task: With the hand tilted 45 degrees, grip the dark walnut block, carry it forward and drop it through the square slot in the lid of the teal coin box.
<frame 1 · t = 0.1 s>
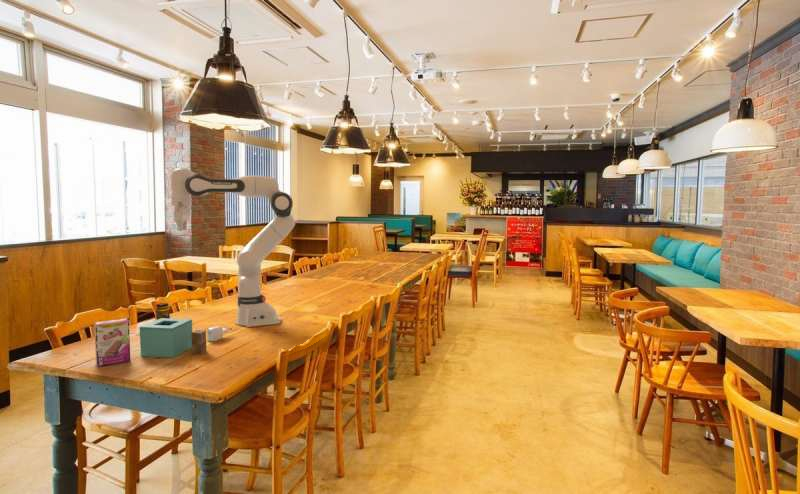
hand: (182, 230, 226), 48 cm above the table, tool pointing down, fingers open, 8 cm apart
candy bar box: (113, 363, 178), on the table
condiment: (161, 327, 228), on the table
teal coin box: (167, 351, 192), on the table
power adapter: (220, 338, 211), on the table
walnut block: (199, 352, 191), on the table
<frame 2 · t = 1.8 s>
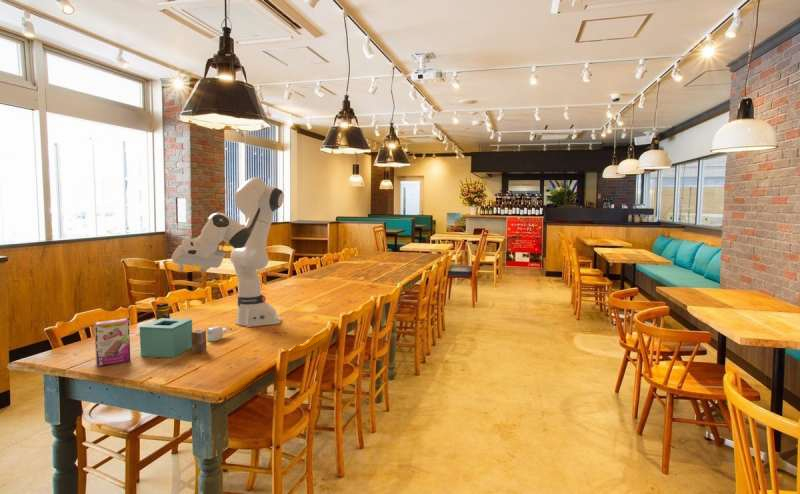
hand: (190, 270, 198), 33 cm above the table, tool tilted 40°, fingers open, 8 cm apart
nothing on the table moved.
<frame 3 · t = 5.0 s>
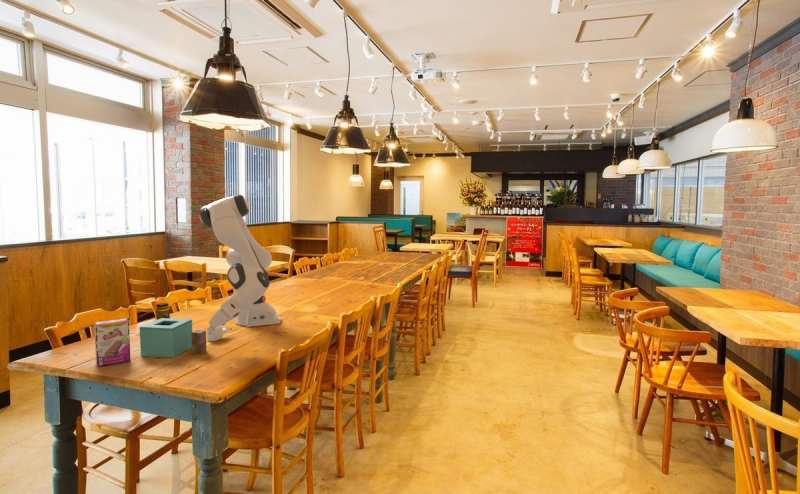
hand: (215, 327, 189), 11 cm above the table, tool tilted 45°, fingers open, 8 cm apart
nothing on the table moved.
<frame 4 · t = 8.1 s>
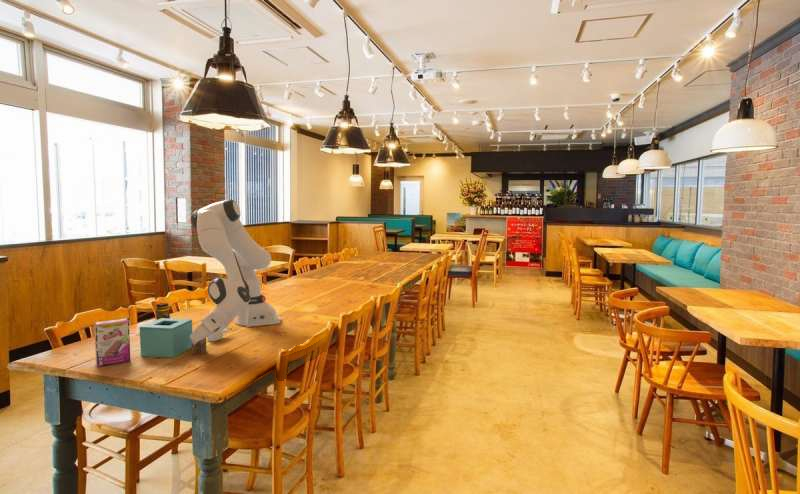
hand: (197, 341, 191), 5 cm above the table, tool tilted 45°, fingers closed on walnut block, 4 cm apart
walnut block: (199, 352, 191), on the table, touching gripper
everything else where it was.
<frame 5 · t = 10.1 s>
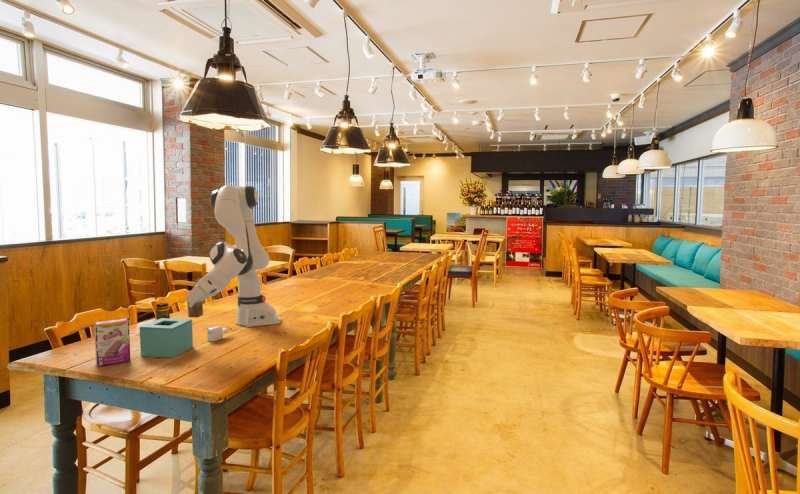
hand: (193, 304, 189), 20 cm above the table, tool tilted 45°, fingers closed on walnut block, 4 cm apart
walnut block: (195, 316, 190), point 15 cm above the table, touching gripper
everything else where it was.
when the fingers open (19 cm above the table, at t = 12.1 s): walnut block drops 13 cm, point 1 cm above the table.
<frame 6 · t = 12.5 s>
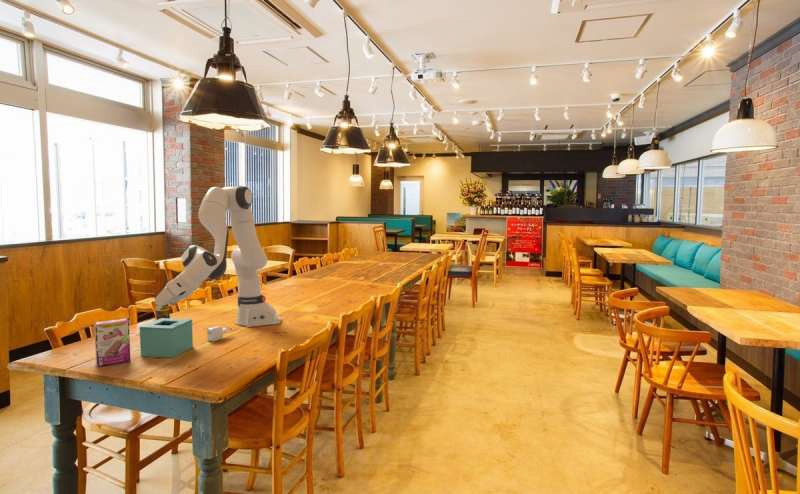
hand: (164, 306, 191), 19 cm above the table, tool tilted 45°, fingers open, 8 cm apart
walnut block: (168, 349, 193), point 1 cm above the table, tilted 24°
everything else where it was.
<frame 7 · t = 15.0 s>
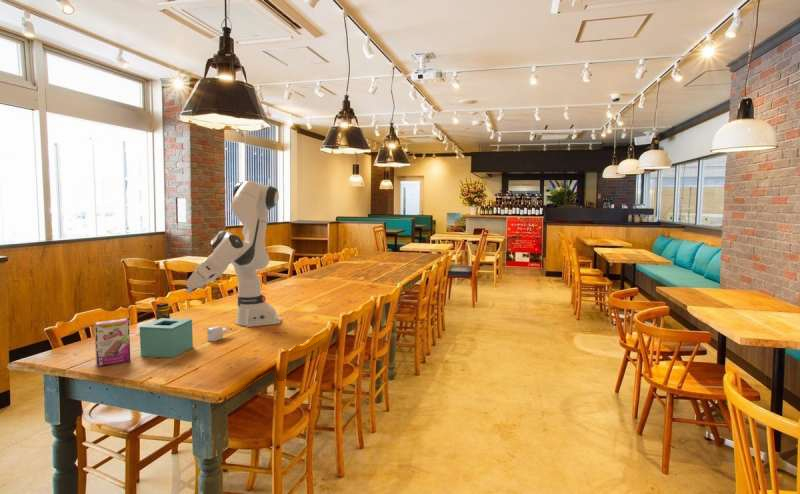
hand: (193, 289, 197), 25 cm above the table, tool tilted 45°, fingers open, 8 cm apart
walnut block: (168, 351, 193), resting in teal coin box
everything else where it was.
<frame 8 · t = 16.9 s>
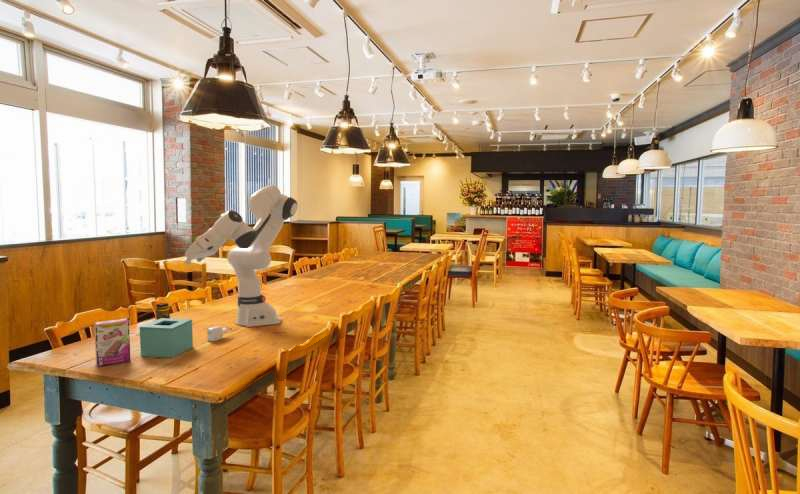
hand: (192, 262, 205), 35 cm above the table, tool tilted 45°, fingers open, 8 cm apart
nothing on the table moved.
at the end: walnut block inside the target area on the teal coin box (0.2 cm from its centre), point 0.0 cm above the teal coin box's base; the gripper is holding nothing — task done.
